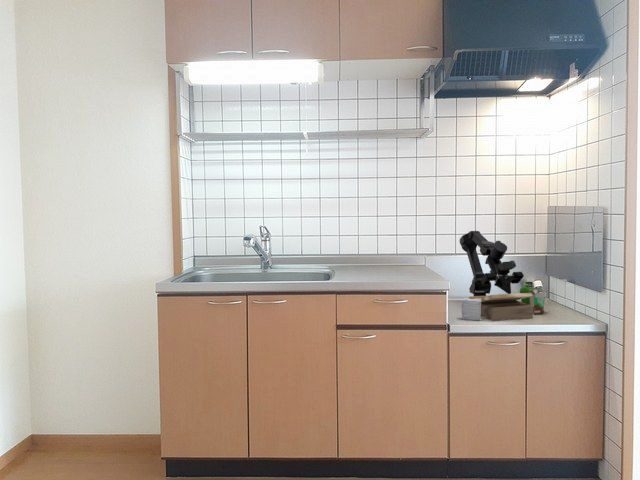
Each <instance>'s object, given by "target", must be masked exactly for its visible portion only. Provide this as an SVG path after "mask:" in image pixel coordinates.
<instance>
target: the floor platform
mask: <svg viewBox="0 0 640 480" xmlns="http://www.w3.org/2000/svg"><path fill="white" fill-rule="evenodd" d="M490 295H491V294H488V295H486V296H473V295H472V296H468V299H480V298H484V297H487V296H490ZM481 318H484V319H487V320H490V321H492V322H495V321H497V322H499V321H510V320H523V319H524V320H525V319H533V318H534V314H533V305H530V304H526V303H523V302H521V301H520V300H516V301H500V302H483V303H481Z"/></svg>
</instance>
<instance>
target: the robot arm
mask: <svg viewBox="0 0 640 480" xmlns="http://www.w3.org/2000/svg"><path fill="white" fill-rule="evenodd" d="M459 244H460V246H461V249H462V250H463V251H465V252H466V256H467V257H468V258H467V259H468V261H469V264H470V268H471V272H472V276H473V278H472V281H471V284H470V286H469V288H468V289H469V293H470V294H472V296H487V294H488V295H491V294H490V293H491V289H492V282H494V284H493V285H494V286H495V287H497V288H498V289H500V290H502V291H504V292H505V294H512V285H513V284H514V285H515V284H519V283H520V282H521V281H522V280H523V278H524V277H525V275H524V273H523V272H522V271H512V270H513V269H515V268H516V267H517V265H516V262H515V260H509V261H502V260H501V259H503V258H504V256H505V254H506V252H507V251H508V246H507V245H506V244H505V243H504V242H502V241H501V240H495V242H494V241H489V240H487V238H486V237H484V235H482V234H481V231H480V230H471V231H468V233H465V234H463V235H462V236H461V237H460V238H459ZM477 247H479V252H480V254H481V255H482V256H483V257H485V256H486V258H485V261H484V264H485V265H488V267H489V269H490V271H489V272H485V273H484V270H483V267H482V264H481V262H480V258H479V253H478V251H477ZM511 271H512V274H510V273H511Z"/></svg>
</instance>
